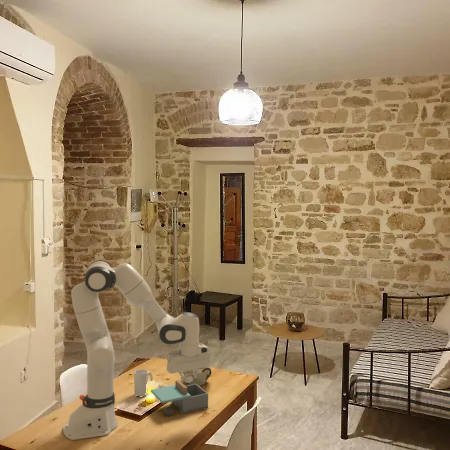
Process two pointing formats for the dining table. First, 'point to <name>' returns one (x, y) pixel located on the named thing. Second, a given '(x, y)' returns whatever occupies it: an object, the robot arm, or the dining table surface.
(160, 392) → the lid
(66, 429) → the robot arm
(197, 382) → the sugar bowl
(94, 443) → the dining table surface
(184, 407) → the bin
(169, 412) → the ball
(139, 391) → the mug
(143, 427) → the dining table surface
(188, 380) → the steel ball
